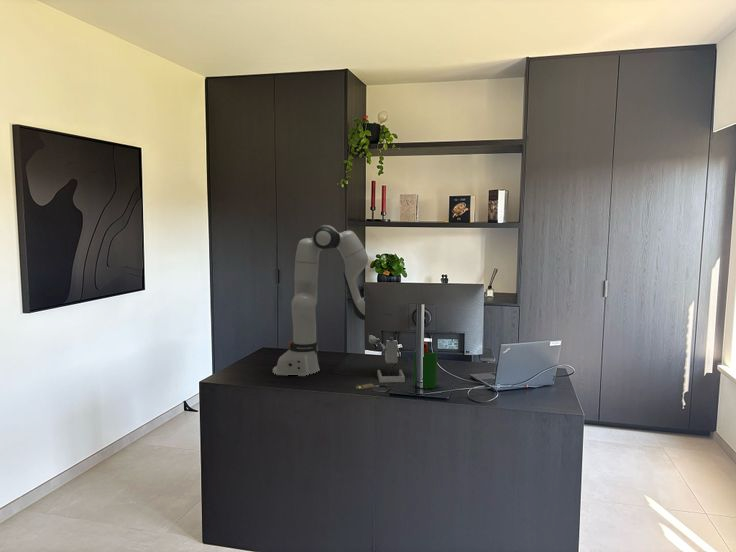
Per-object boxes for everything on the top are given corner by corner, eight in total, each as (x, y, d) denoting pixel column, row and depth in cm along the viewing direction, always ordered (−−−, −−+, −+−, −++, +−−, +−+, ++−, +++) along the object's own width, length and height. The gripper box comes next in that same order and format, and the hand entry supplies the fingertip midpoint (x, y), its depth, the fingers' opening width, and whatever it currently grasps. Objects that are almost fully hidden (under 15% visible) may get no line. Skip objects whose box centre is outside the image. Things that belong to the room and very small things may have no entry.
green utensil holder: (436, 383, 238) (437, 339, 236) (437, 389, 229) (438, 344, 227) (413, 382, 239) (414, 339, 237) (413, 388, 230) (414, 343, 228)
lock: (386, 363, 241) (386, 339, 240) (385, 359, 247) (385, 336, 246) (397, 362, 241) (397, 338, 240) (395, 359, 247) (395, 335, 246)
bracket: (379, 382, 238) (379, 377, 238) (377, 375, 250) (377, 369, 249) (404, 382, 239) (404, 376, 239) (401, 374, 250) (401, 369, 250)
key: (358, 389, 228) (358, 388, 228) (354, 387, 231) (354, 385, 231) (374, 387, 232) (374, 385, 232) (370, 385, 235) (370, 383, 235)
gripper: (367, 321, 248) (369, 347, 240) (410, 320, 250) (413, 346, 241) (366, 328, 253) (368, 354, 245) (409, 328, 255) (412, 353, 246)
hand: (391, 350), depth 243 cm, fingers closed on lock, 5 cm apart
